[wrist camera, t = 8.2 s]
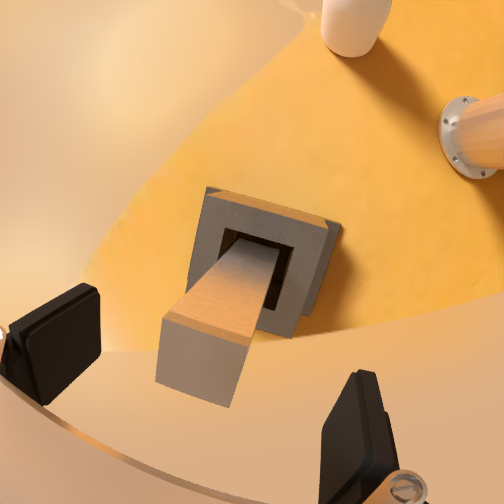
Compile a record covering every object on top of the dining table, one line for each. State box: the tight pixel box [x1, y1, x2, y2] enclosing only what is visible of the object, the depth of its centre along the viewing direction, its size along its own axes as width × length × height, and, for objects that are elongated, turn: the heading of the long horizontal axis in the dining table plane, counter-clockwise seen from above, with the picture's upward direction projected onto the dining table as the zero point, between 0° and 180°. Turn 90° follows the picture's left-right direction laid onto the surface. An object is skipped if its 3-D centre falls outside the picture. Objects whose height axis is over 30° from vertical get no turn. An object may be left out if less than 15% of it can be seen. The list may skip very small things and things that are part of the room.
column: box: [155, 238, 280, 408], centre depth 28 cm, size 5×6×22 cm
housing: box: [185, 186, 341, 339], centre depth 39 cm, size 19×14×10 cm
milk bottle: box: [321, 0, 392, 58], centre depth 24 cm, size 8×8×20 cm
